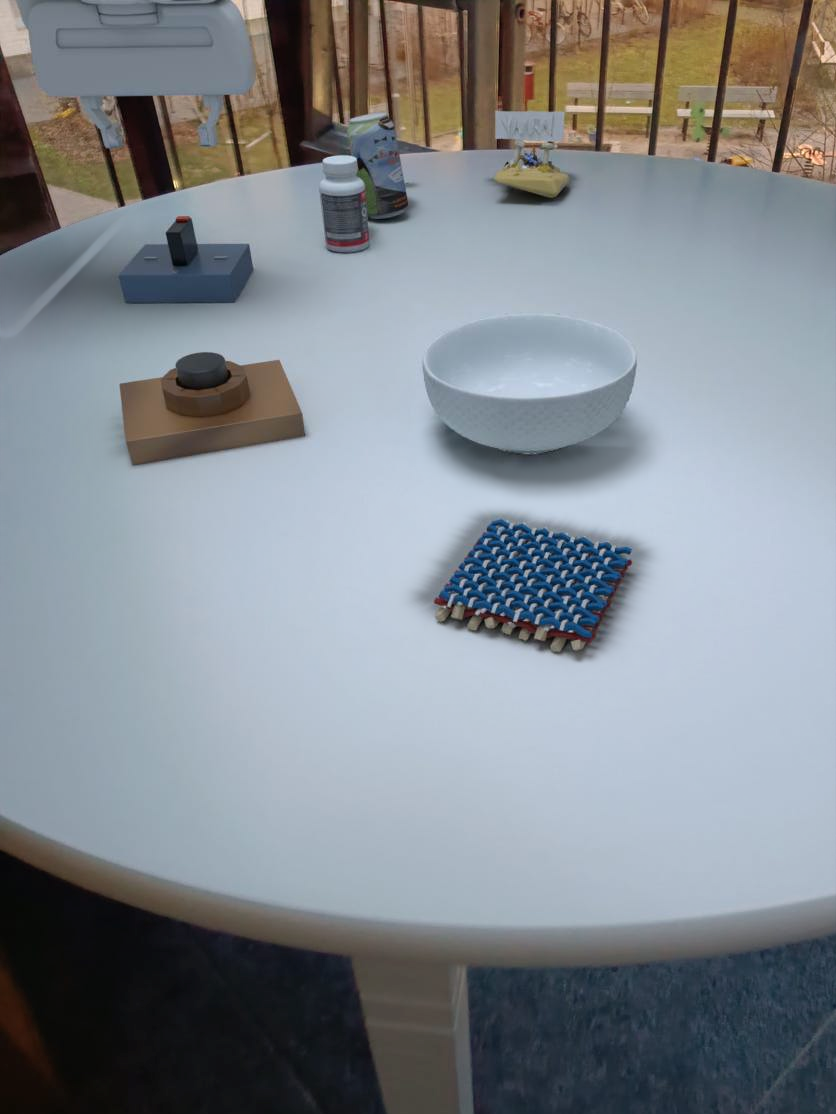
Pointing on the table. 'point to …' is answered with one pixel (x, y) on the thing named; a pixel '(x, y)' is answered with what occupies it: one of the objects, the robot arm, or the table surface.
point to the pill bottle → (343, 205)
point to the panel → (187, 275)
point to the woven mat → (535, 583)
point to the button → (202, 371)
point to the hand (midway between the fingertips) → (162, 146)
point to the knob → (182, 241)
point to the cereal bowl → (529, 380)
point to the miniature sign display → (524, 168)
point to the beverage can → (378, 164)
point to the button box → (209, 413)
